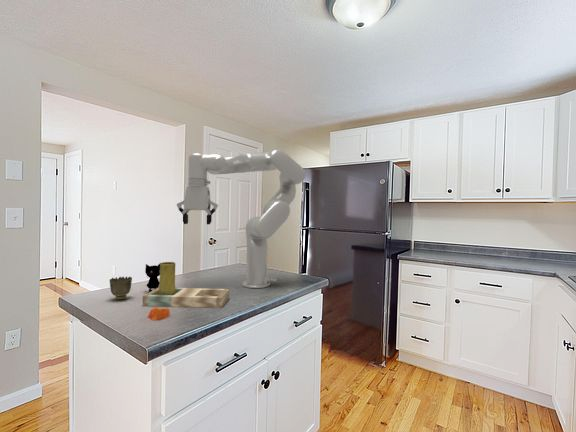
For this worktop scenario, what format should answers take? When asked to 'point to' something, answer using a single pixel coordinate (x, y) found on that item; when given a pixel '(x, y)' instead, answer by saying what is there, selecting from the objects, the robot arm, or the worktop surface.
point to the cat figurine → (152, 276)
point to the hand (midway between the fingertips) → (197, 224)
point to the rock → (159, 313)
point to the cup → (120, 287)
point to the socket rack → (188, 298)
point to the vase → (167, 278)
